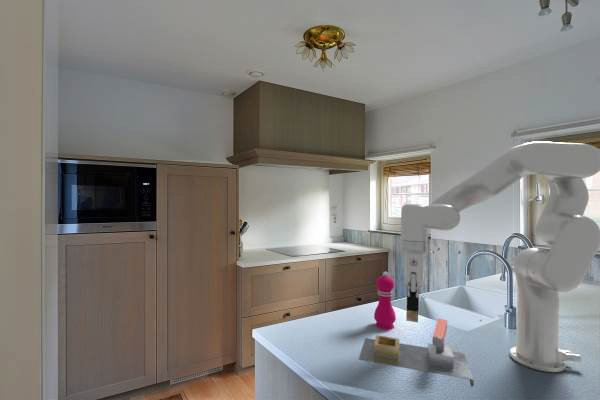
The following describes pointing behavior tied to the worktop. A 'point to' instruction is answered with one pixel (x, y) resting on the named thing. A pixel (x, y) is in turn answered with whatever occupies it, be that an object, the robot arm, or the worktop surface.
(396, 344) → the holed wooden block
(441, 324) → the orange and grey block
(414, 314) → the peg
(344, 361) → the worktop surface
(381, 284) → the pepper mill
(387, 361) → the board
